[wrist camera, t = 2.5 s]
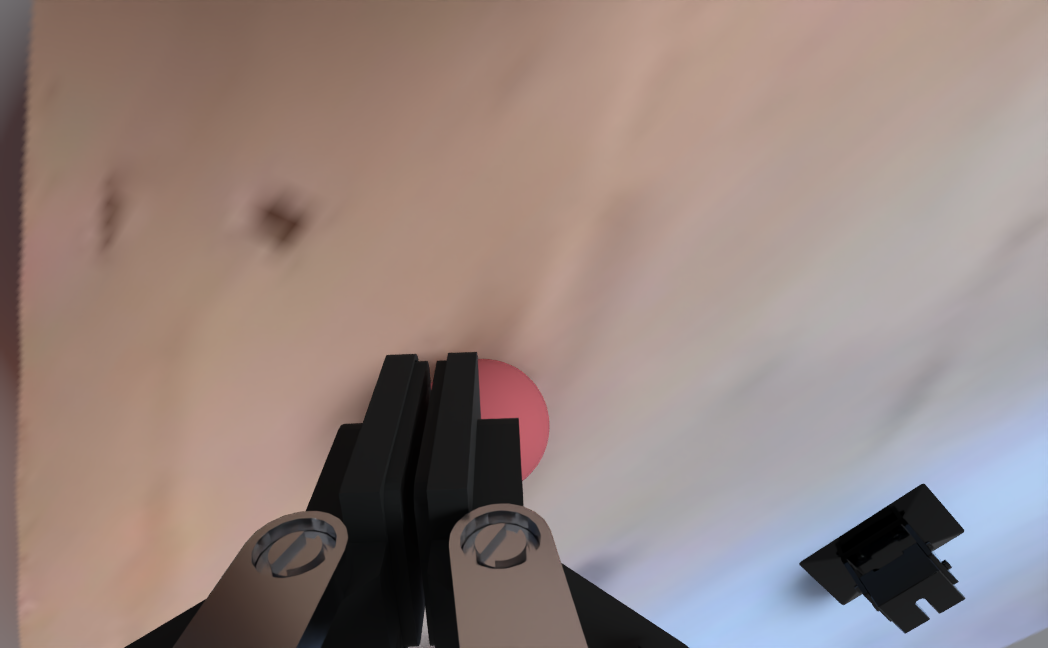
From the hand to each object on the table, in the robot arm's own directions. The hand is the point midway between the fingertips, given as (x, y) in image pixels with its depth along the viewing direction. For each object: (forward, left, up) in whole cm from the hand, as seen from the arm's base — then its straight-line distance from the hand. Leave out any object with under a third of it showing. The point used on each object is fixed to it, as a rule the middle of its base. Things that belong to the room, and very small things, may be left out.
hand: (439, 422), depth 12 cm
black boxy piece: (+21, +22, -18) cm, 35 cm away
